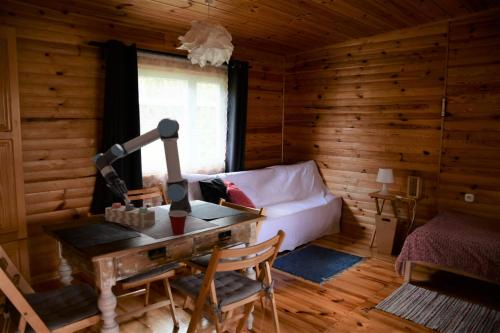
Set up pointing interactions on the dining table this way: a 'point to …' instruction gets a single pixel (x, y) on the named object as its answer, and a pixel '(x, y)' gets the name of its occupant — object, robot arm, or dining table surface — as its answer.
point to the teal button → (143, 210)
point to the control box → (130, 216)
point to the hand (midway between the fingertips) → (128, 202)
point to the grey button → (129, 207)
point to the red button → (116, 205)
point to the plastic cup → (177, 221)
